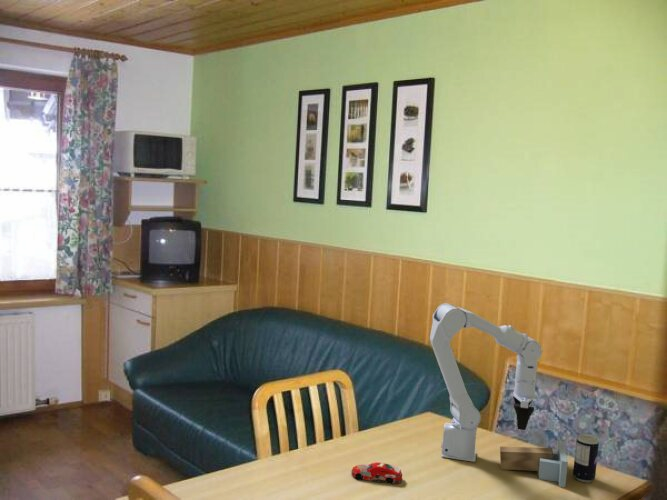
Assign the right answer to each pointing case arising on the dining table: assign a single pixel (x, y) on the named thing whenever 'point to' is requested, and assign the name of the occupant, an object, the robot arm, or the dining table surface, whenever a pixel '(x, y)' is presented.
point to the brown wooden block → (523, 457)
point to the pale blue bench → (555, 466)
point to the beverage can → (585, 457)
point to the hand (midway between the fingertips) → (521, 425)
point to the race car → (377, 473)
